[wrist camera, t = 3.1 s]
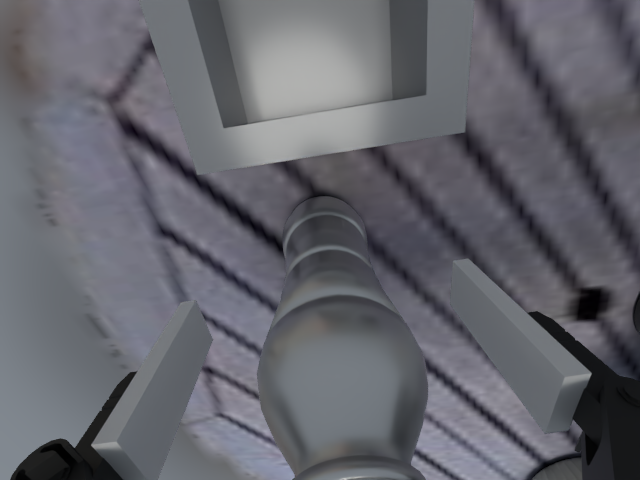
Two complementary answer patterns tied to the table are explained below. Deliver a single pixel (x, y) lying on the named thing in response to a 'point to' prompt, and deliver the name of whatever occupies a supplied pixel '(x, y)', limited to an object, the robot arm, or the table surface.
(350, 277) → the plastic bottle
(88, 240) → the table surface
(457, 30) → the well
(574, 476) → the canister
